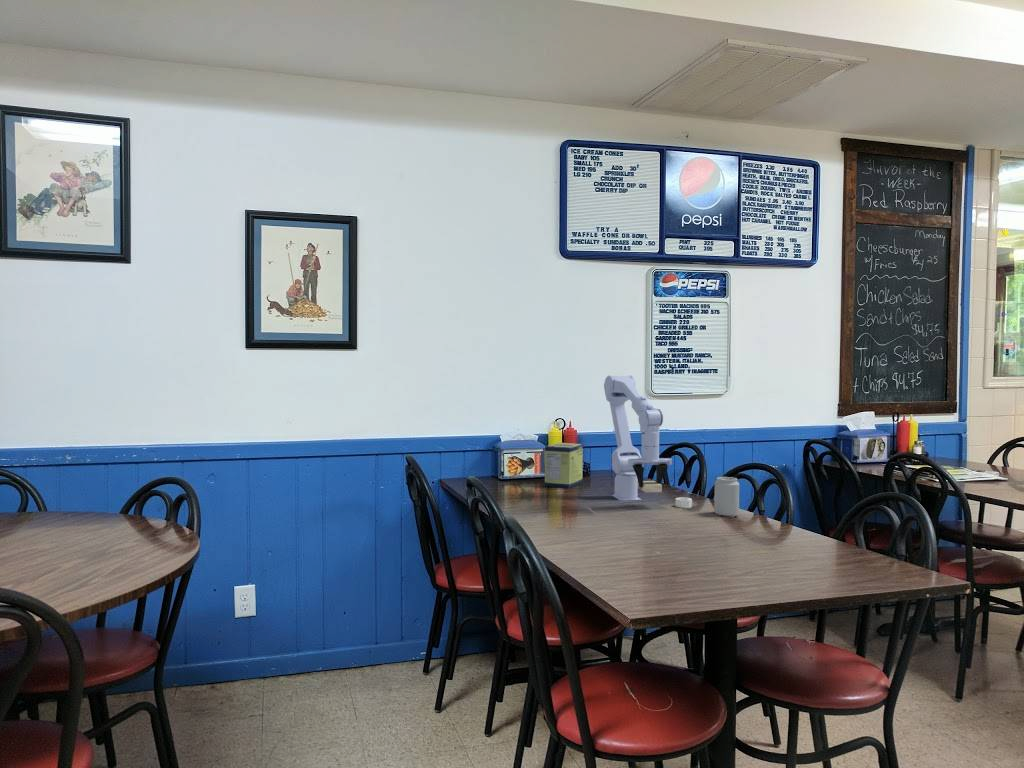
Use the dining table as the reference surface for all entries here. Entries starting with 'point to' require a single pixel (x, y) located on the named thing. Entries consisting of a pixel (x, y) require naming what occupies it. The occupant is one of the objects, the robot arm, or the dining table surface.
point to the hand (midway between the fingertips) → (649, 486)
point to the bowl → (683, 502)
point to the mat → (648, 506)
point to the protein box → (563, 465)
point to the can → (726, 496)
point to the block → (651, 486)
